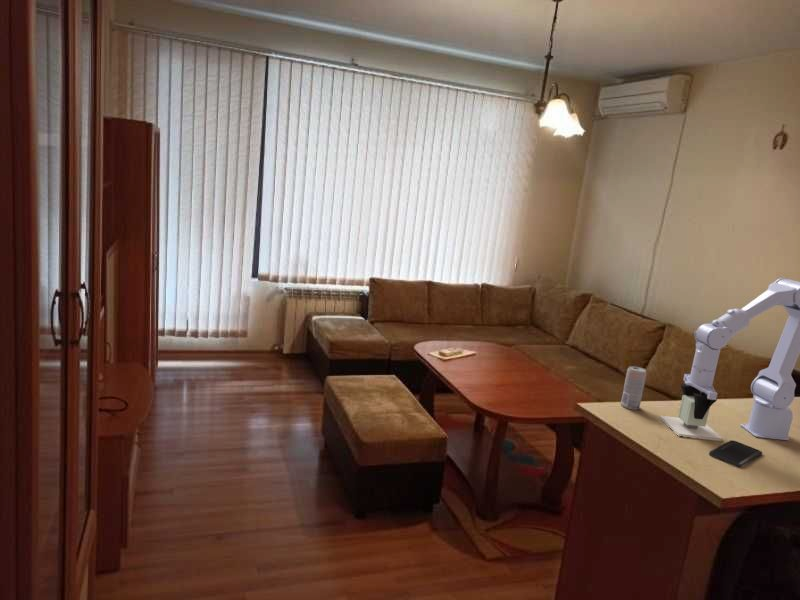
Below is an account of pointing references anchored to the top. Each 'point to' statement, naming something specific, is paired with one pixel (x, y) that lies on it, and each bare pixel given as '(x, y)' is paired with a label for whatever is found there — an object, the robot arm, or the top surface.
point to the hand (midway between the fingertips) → (693, 414)
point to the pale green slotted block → (690, 412)
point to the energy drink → (633, 387)
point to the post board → (690, 429)
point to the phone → (735, 453)
